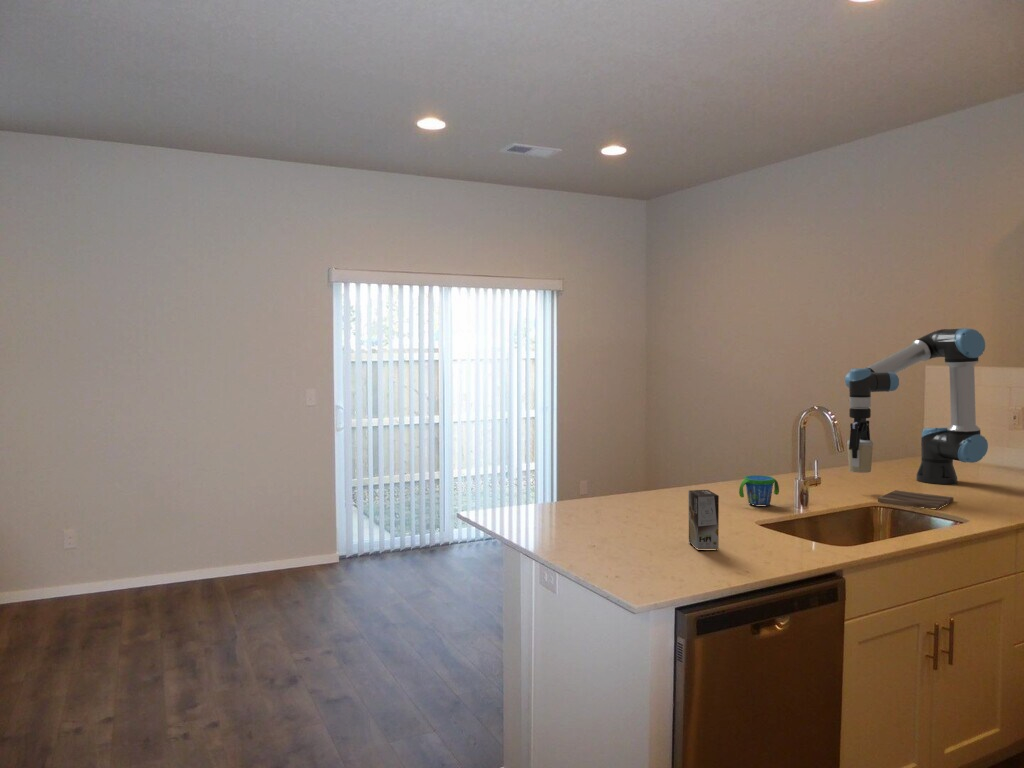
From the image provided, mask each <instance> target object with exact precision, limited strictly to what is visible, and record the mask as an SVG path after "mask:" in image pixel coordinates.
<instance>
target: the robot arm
mask: <svg viewBox="0 0 1024 768" xmlns="http://www.w3.org/2000/svg"><path fill="white" fill-rule="evenodd" d="M985 349H986V340H985V338H984V336H983V335H982V333H981V332H979V331H978V330H977V329H973V328H965V327H961V328H944V329H943V328H942V329H937V330H935V331H932V332H930V333H927V334H925V335H923V336H921V337H919V338H917V339H915V340H913V341H912V343H911V345H909V346H907V347H904V348H902V349H900V350H899V351H897V352H895V353H893V354H891V355H889V356H886V357H885V358H883V359H881V360H878V361H877V362H874V363H872V364H871V365H869V366H866V367H864V368H863V367H862V368H859V367H858V368H851V369H850V370H849V371H848V373H847V374H846V375H845V378H844V383H845V386H847V388H849V399H848V402H849V415H848V416H849V417H850V418H851V419H853V423H852V422H851V423H850V430H849V432H850V433H849V440H850V443H849V450H852V466H854V467H860V450H858V449H859V442H860V440H871V434H870V433H871V431H870V420H867V419H870V418H871V415H872V413H871V412H872V411H871V406H872V400H871V399H872V398H871V397H872V396H871V395H872V394H871V393H878V392H879V393H882V392H884V393H885V392H887V393H888V392H895V391H896V390H897V389H898V387H899V386H900V379H899V376H898V375H897V373H899V372H901V371H903V370H906V369H907V368H909V367H911V366H913V365H915V364H917V363H919V362H921V361H922V362H926V361H929V360H932V359H935V358H936V359H937V358H944V363H945V364H946V365H947V366H948V367H949V370H948V371H949V395H950V397H949V398H950V399H949V400H950V401H949V402H950V425H949V426H948V427H926V428H923V430H922V433H921V437H920V438H921V440H920V441H921V447H920V449H921V457H920V460H921V461H920V465H919V468H918V470H917V473H916V481H918V482H921V483H926V484H927V483H928V484H934V483H935V485H954V484H957V483H958V475H957V473H956V469H955V466H954V461H959V462H962V463H971V464H972V463H978V462H980V461H981V460H982V459H983V458H985V456H986V455H987V453H988V449H989V442H988V440H987V439H986V438H985V436H983V435H982V434H981V428H980V427H979V426H978V425H977V424H976V423H977V421H976V420H977V419H976V385H975V377H976V376H975V365H976V364H978V363H979V361H980V360H979V358H980V357H981V356H982V355H983V354H984V352H985Z"/></svg>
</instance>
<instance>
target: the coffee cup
mask: <svg viewBox="0 0 1024 768" xmlns="http://www.w3.org/2000/svg"><path fill="white" fill-rule="evenodd" d="M849 443H850V439H847V442H846V444H847V446H846V447H847V458H848V470H849V472H852V473H858V474H859V473H861V474H865V473H866V474H867V473H871V472H872V464H873V463H872V460H873V450H874V449H873V448H874V447H873V446H874V442H873V440H871V439H870V440H860V442H859V449H858V450H860V467H854V466H852V450H849Z"/></svg>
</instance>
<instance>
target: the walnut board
mask: <svg viewBox="0 0 1024 768" xmlns="http://www.w3.org/2000/svg"><path fill="white" fill-rule="evenodd" d="M954 500H955V499H954V496H946V495H937V494H931V493H930V494H928V493H921V492H913V491H905V490H899V489H898V490H892V491H891V492H888V493H887V494H884V495H881V496H879V497H877V502H878V503H884V504H890V505H897V506H898V505H899V506H904V507H912V506H913V508H919V507H924V508H923V509H926V508H936V509H939V508H940V507H942V506H944V505H946V504H948V503H950V502H951V503H953V502H954ZM952 501H953V502H952ZM951 503H950V504H951ZM948 505H949V504H948ZM946 506H947V505H946ZM944 507H945V506H944ZM939 510H940V509H939Z"/></svg>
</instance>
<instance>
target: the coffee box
mask: <svg viewBox="0 0 1024 768" xmlns="http://www.w3.org/2000/svg"><path fill="white" fill-rule="evenodd" d="M719 497H720V496H719V495H718V494H716V493H715V492H712V491H711V490H709V489H694V490H693V489H691V490H688V543H689V542H690V543H691V544H693V545H694V546H695V547H696V548H698V549H718V550H719V540H720V539H719V533H720V532H719V522H720V521H719V520H720V519H719V518H720V517H719V515H720V514H719V513H720V512H719V510H720V509H719V508H720V507H719V502H720V500H719V499H720V498H719Z"/></svg>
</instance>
